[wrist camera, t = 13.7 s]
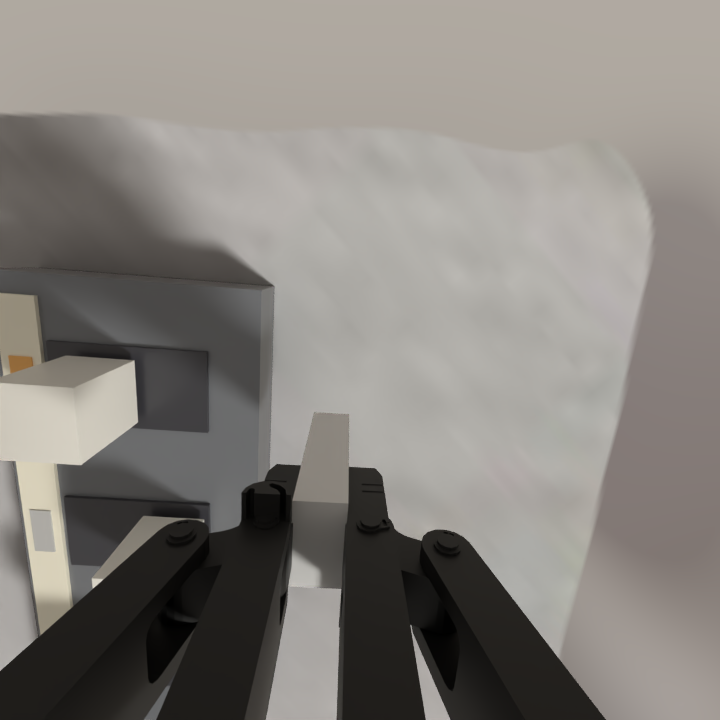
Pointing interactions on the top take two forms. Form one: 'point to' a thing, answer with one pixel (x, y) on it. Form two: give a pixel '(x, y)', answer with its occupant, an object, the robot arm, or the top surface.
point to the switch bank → (140, 413)
